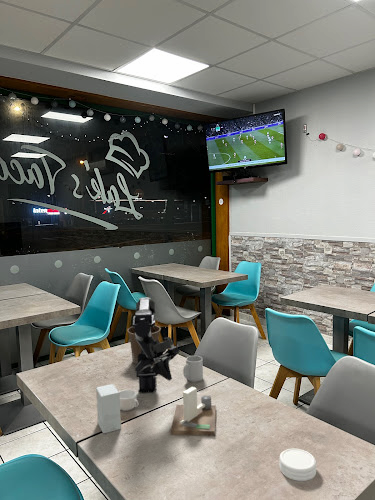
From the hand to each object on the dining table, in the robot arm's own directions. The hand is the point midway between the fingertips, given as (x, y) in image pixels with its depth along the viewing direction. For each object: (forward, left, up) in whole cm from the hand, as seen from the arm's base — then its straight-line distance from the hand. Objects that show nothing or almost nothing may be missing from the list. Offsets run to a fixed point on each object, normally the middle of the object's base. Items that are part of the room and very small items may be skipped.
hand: (170, 379), depth 140 cm
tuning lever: (+9, -3, -11) cm, 15 cm away
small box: (-21, -8, -13) cm, 26 cm away
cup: (+5, +30, -13) cm, 33 cm away
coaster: (+39, -28, -14) cm, 50 cm away
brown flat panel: (+9, -4, -13) cm, 16 cm away
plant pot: (-20, +51, -13) cm, 56 cm away
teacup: (-17, +4, -13) cm, 22 cm away
